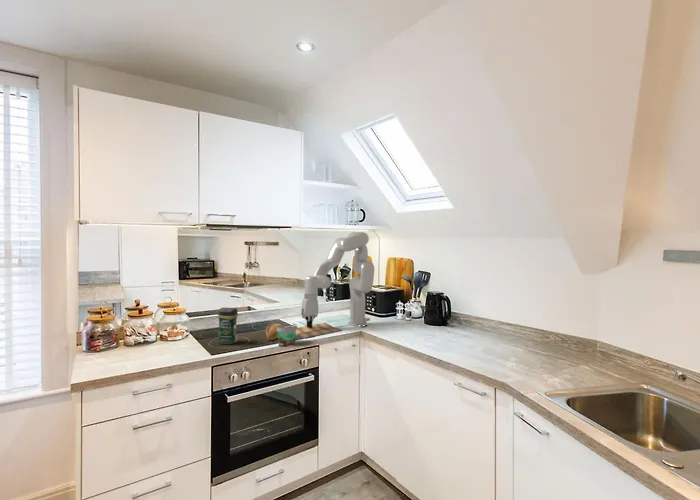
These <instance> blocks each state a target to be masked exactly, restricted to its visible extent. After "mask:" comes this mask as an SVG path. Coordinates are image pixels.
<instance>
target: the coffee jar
mask: <svg viewBox="0 0 700 500" xmlns="http://www.w3.org/2000/svg"><path fill="white" fill-rule="evenodd" d="M217 311H218V313H217V318H218V322H219V323H218V324H219V325H218V334H217V343H218V344H219V345H220V344H222V345H232V344H235V343H237V342H238V329H237V321H238V316H239V314H238V308H236V307H220V308H219V309H218V310H217Z"/></svg>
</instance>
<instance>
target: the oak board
mask: <svg viewBox="0 0 700 500" xmlns="http://www.w3.org/2000/svg"><path fill="white" fill-rule="evenodd" d="M332 327H334V326H333V325H331V324H329V323H327V322H320V323H316V324H312V328H308V327H307V325H304V326H299V327H297V330H296V335H295V336H298V334H301V333H306V332H312V331H317V330H322V329H327V328H332Z"/></svg>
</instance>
